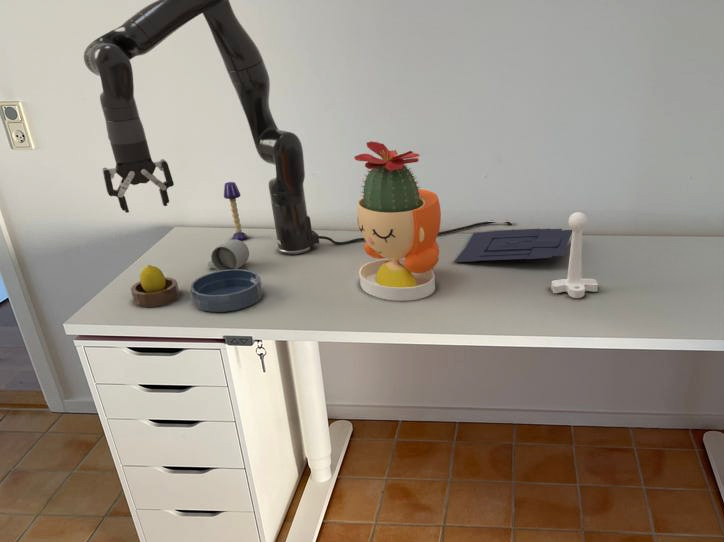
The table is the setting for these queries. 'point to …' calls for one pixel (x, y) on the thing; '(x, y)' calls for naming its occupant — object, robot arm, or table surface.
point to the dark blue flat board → (515, 244)
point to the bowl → (226, 290)
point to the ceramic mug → (229, 255)
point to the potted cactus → (397, 228)
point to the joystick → (575, 263)
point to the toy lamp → (234, 208)
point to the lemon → (152, 279)
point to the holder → (156, 294)
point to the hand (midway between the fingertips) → (146, 208)
